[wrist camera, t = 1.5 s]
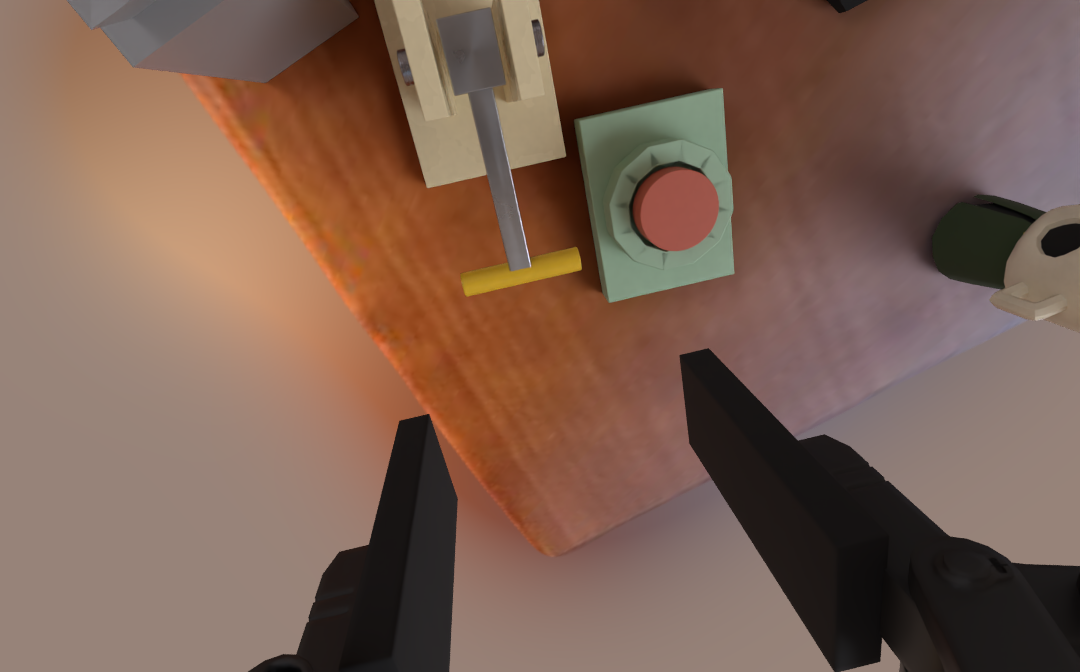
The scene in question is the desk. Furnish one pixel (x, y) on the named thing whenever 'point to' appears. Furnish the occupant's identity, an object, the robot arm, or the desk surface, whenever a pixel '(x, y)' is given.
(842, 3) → the remote control
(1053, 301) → the character mug
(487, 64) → the t-handle lever
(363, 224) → the desk surface
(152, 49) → the perfume bottle
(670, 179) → the button
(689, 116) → the button box
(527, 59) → the bracket
